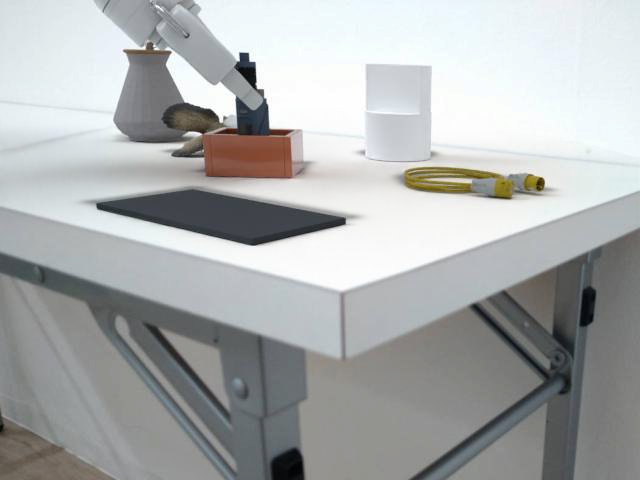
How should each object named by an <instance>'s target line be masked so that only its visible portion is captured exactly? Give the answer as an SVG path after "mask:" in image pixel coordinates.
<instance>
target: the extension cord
mask: <svg viewBox="0 0 640 480" xmlns="http://www.w3.org/2000/svg"><path fill="white" fill-rule="evenodd" d="M403 175H404V181H405V186H406V187H408V188H412V189H415V190H421V191H427V192H436V193H446V194H447V193H449V194H450V193H451V194H464V193H465V194H466V193H467V194H468V193H479V194H481V195H486V196H488V197H497V198H507V199H508V198H509V199H511V198H513V195H514V190H515V188H517V189H519V190H520V191H524V192H525V191H526V192H531V191H533V192H538V193H541V192H543V191H545V186H546V180H545V178H544V177H543V176H537V175H534V174H532V173H528V172H521V173H510V174H508V175H507V179H504V176H503V175H502V174H500V173H496V172H493V171H486V170H479V169H472V168H463V167H453V166H452V167H450V166H420V167H412V168H407V169H406V170H405V171H404V172H403ZM415 175H418V176H415ZM412 176H413V177H412ZM432 178H433V179H434V178H435V179H437V178H456V179H457V178H459V179H461V178H462V179H472V180H471V182H457V181H445V180H430V179H432Z"/></svg>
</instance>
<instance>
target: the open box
mask: <svg viewBox="0 0 640 480" xmlns="http://www.w3.org/2000/svg"><path fill="white" fill-rule="evenodd" d="M303 134H304V133H303V129H299V128H297V129H295V128H270V135H238V131H237V128H228V127H222V128H219V129H216V130H214V131H211V132H208V133H205V134H203V135H202V134H201V135H202V138H203V159H204V171H205V177H228V178H229V177H231V178H232V177H234V178H277V179H280V178H281V179H285V178H286V179H293V178H294V177H295V176H296V175H297V174H298V173H299V172H301V170H303V169H304V167H305V163H304V162H305V161H304V159H305V158H304V138H303V137H304V136H303Z"/></svg>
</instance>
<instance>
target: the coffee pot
mask: <svg viewBox="0 0 640 480" xmlns="http://www.w3.org/2000/svg"><path fill="white" fill-rule="evenodd" d="M144 47H145V49H137V48H135V49H133V48H132V49H131V48H130V49H129V48H124V49H122V52H123V53H124V54H126V57H127V60H128V63H129V65H128V68H127V72H126V75H125V78H124V81H123V85H122V88H121V92H120V95H119V98H118V101H117V105H116V108H115V111H114V115H113V119H112V121H113V123H114V125H115V126H116V128H117V130H118V131H119V132H121V133H122V134H123V135H124V136H127V137H128V140H130V141H134V142H151V143H152V142H155V143H156V142H174V141H180V140H183V136H185V135H186V134H187V133H189V132H187V131H182V130H175V129H170V128H167V127H166V126H167V125H166V124H164V123H163V121H162V120H161V118H162V116H163V113H164V112H165V110H166V109H168V107H169V106H172V105H175V104H177V103H178V104H179V103H183V102H185V100H184V97H183V96H182V94H181V92H180V90H179V88H178V86H177V84H176V82H175V80H174V78H173V76H172V75H171V72H170V70H169V68H168V66H167V62H168V61H169V59H170V56H171V55H172V53H173V50H169V49H167V50H166V49H165V50H164V51H160V50H159V49H156V48H157V46H155V45H154V44H153V43H152V42H149V43H147V44H146V45H145V46H144Z"/></svg>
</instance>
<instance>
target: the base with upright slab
mask: <svg viewBox="0 0 640 480" xmlns="http://www.w3.org/2000/svg"><path fill="white" fill-rule="evenodd" d="M432 68H433V66H432V65H425V64H424V65H423V64H422V65H421V64H393V63H365V110H364V131H365V132H364V148H365V149H364V150H365V151H364V152H365V154H364V157H365V158H366V159H369V160H373V161H374V160H375V161H382V162H383V161H384V162H403V163H404V162H422V161H428V160H430V159H431V156H432V155H431V153H432V73H433V69H432Z"/></svg>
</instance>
